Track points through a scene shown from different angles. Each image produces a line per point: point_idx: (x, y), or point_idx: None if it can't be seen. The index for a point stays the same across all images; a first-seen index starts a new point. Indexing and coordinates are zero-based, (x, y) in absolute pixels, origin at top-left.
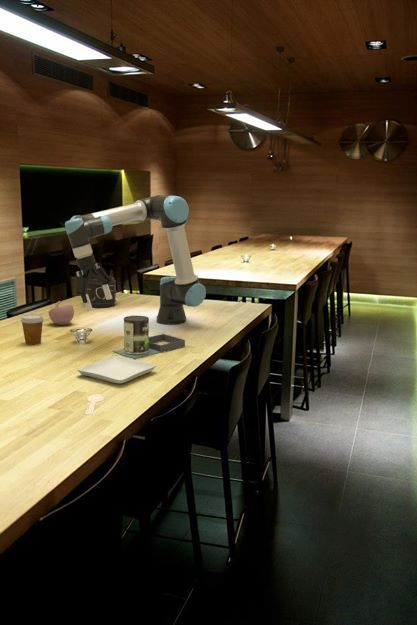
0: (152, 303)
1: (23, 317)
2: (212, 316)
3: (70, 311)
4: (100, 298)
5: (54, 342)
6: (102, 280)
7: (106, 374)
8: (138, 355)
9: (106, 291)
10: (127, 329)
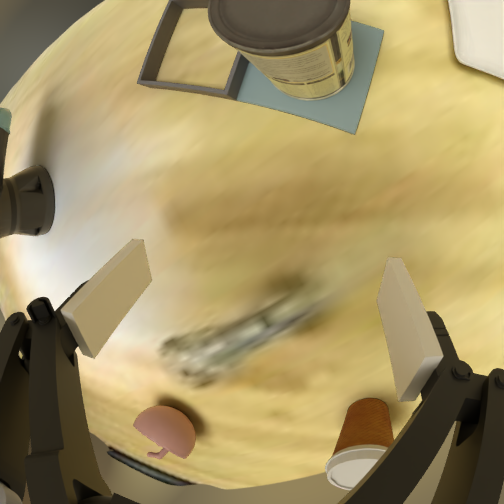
0: (14, 303)
1: None
2: (7, 158)
3: (155, 420)
4: None
5: (336, 376)
6: (64, 373)
7: None
8: None
9: (115, 297)
10: (350, 27)
